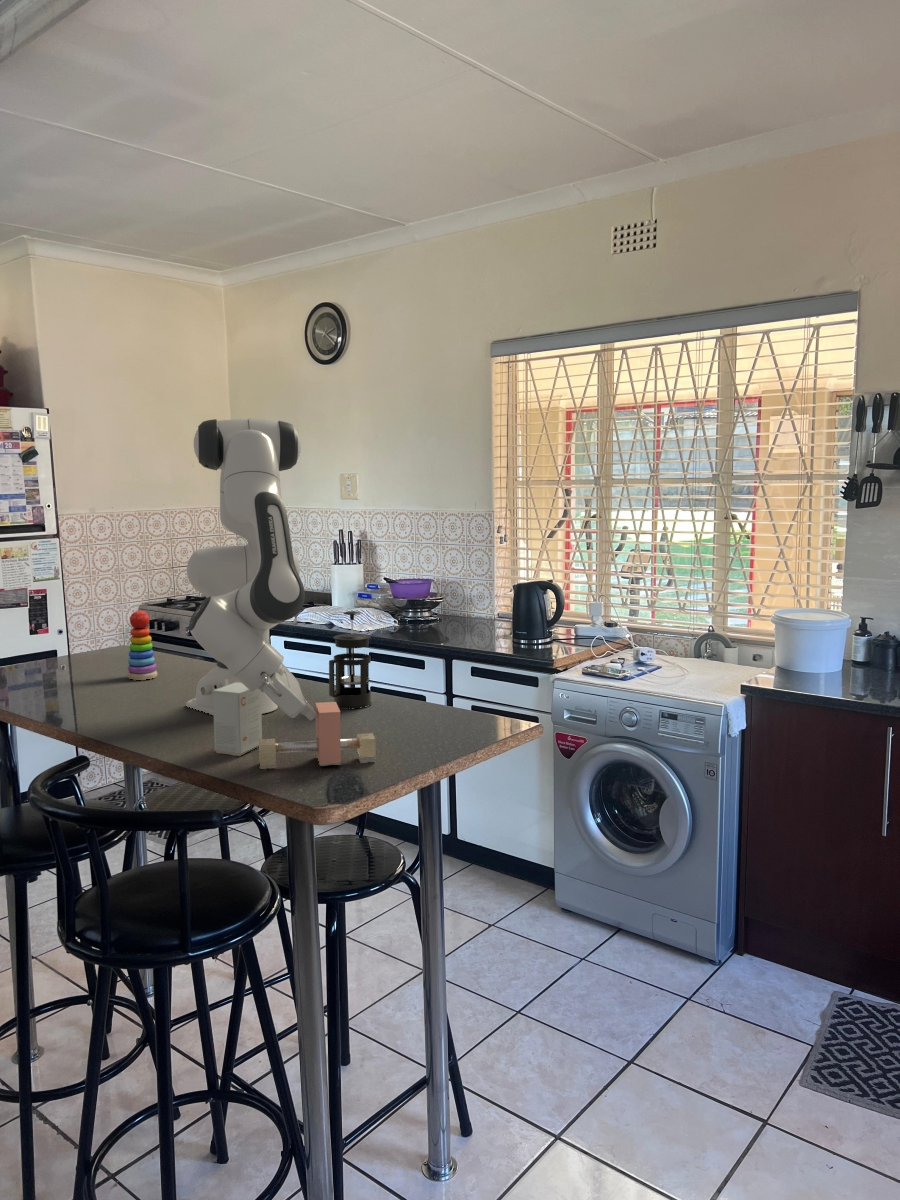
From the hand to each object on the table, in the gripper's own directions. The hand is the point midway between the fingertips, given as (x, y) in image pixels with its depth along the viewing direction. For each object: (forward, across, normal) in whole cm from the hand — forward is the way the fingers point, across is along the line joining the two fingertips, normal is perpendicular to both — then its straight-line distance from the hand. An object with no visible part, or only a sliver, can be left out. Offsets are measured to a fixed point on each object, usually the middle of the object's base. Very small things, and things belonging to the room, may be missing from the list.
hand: (313, 716), depth 173 cm
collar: (+8, 0, +5) cm, 10 cm away
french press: (+16, +45, -2) cm, 47 cm away
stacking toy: (-21, +86, +35) cm, 95 cm away
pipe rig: (+7, 0, +6) cm, 9 cm away
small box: (-3, +12, +17) cm, 21 cm away
